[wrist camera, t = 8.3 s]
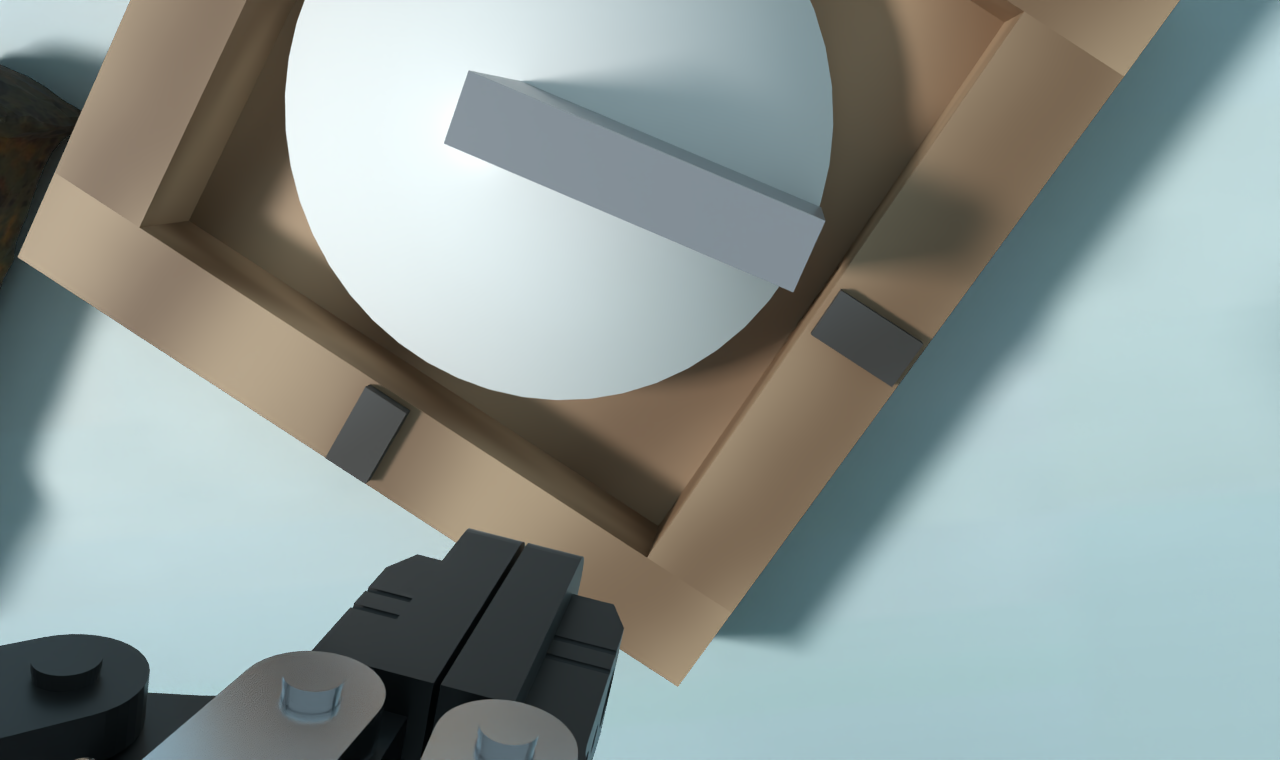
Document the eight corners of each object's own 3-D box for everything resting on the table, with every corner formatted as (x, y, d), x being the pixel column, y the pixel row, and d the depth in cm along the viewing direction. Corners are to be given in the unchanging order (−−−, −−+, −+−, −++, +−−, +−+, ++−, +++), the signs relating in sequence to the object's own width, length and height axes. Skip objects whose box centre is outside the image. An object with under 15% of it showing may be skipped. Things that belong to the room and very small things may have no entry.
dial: (252, 268, 28) (124, 298, 23) (406, -245, 25) (298, -350, 19) (703, 464, 27) (680, 543, 22) (925, -34, 24) (961, -82, 19)
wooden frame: (89, 246, 29) (8, 258, 26) (426, -489, 24) (374, -578, 21) (689, 636, 29) (676, 692, 26) (1158, -14, 24) (1209, -35, 21)
